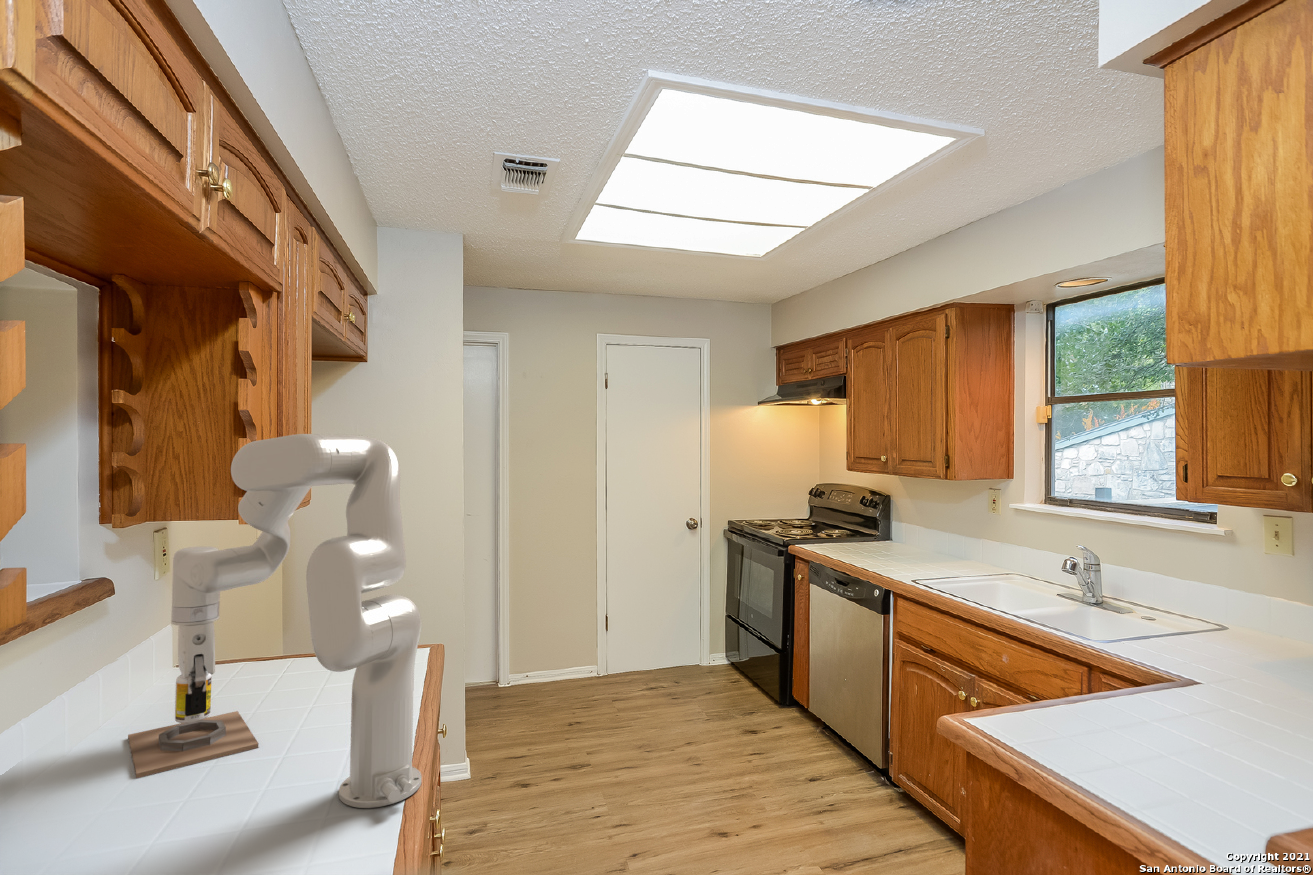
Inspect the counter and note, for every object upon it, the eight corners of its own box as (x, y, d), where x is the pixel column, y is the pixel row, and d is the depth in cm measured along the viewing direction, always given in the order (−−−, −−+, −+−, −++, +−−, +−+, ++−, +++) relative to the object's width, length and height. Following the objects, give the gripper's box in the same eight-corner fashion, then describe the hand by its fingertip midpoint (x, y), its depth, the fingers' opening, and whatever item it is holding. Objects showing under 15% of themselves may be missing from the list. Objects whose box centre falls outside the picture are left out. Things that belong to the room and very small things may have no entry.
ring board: (258, 747, 124) (258, 735, 124) (136, 778, 112) (136, 764, 112) (237, 714, 139) (237, 703, 139) (127, 738, 127) (128, 726, 127)
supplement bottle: (212, 719, 125) (213, 665, 126) (175, 727, 122) (177, 670, 122) (208, 710, 130) (210, 657, 130) (173, 717, 126) (175, 663, 126)
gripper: (227, 618, 122) (224, 717, 122) (211, 601, 135) (209, 691, 135) (177, 625, 117) (174, 728, 117) (166, 607, 130) (163, 700, 130)
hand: (193, 707), depth 126 cm, fingers closed on supplement bottle, 5 cm apart
